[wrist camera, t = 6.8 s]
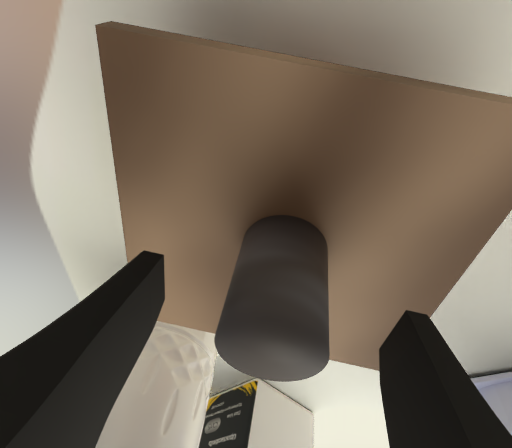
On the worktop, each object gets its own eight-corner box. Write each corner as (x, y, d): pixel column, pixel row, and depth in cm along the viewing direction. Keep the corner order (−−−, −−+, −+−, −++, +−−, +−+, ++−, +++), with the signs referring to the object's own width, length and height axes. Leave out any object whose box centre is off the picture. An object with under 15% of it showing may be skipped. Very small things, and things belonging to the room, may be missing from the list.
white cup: (123, 338, 27) (42, 488, 19) (128, 275, 22) (22, 442, 14) (216, 366, 28) (174, 525, 20) (240, 311, 23) (197, 492, 15)
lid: (562, 107, 9) (751, 214, 5) (385, 356, 16) (404, 476, 12) (111, 21, 9) (-41, 58, 5) (142, 302, 16) (88, 401, 13)
